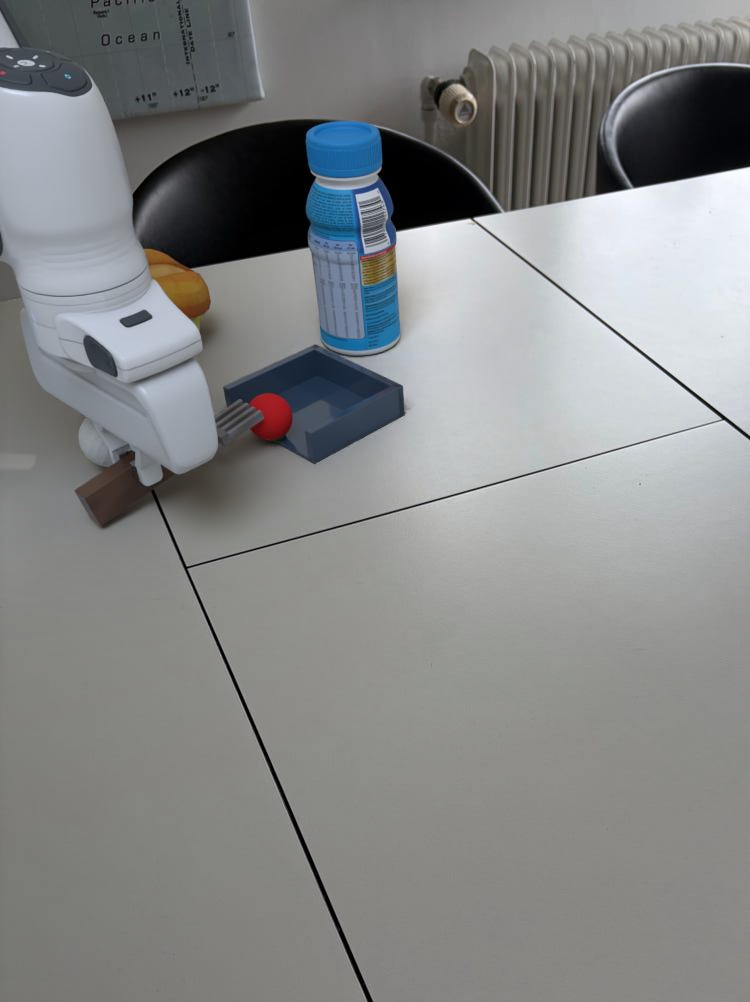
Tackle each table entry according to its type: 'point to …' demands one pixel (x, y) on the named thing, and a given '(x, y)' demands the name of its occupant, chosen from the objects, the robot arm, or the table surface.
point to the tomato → (272, 417)
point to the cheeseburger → (180, 285)
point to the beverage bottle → (352, 239)
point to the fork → (122, 489)
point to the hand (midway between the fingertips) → (138, 473)
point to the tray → (323, 400)
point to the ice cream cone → (93, 444)
